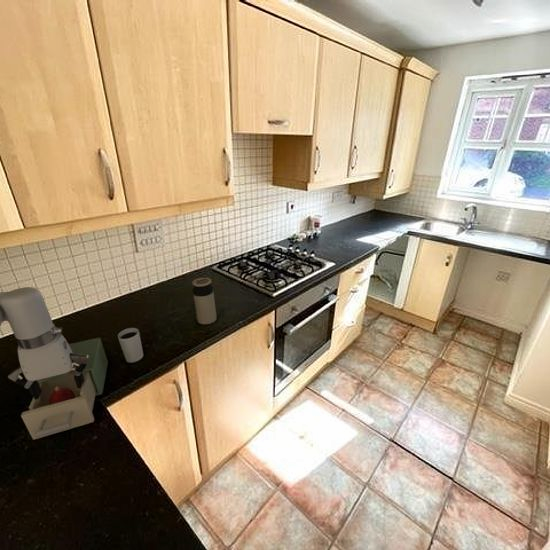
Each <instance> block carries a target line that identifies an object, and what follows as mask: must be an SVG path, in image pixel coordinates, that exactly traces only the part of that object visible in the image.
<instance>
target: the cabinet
mask: <svg viewBox="0 0 550 550" xmlns="http://www.w3.org/2000/svg"><path fill="white" fill-rule="evenodd" d="M68 344H69V346H70V348H71V350H72V352H73V353H74V354H82V355H88V356H89V358H88V361H87V364H86V367H85V369H84V370H83V371H82V372H86V371H91V374H92V376H93V379H94V382H95V385H96V388H97V389H96V394H95V397H98V396H100V395H103V393H104V386H105V381H106V375H107V369H108V364H109V361H108V358H107V355H106V352H105V348H104V346H103V342H102V339H101V337H96V338H90V339H87V340H86V339H85V340H82V341H78V342H72V343H68ZM73 363H76V364H78V365H80V364H81V363H82V362H81V361H76V360H75V362H73ZM70 375H73V374H71V373H69V372H67V373H64V374H60V375H56V376H52V377H48V378H44V379H40V380H36V381H38V384H40V383H42V382H46V381H50V380H54V379H58V378H62V377H66V376H70Z"/></svg>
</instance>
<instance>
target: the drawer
mask: <svg viewBox="0 0 550 550" xmlns="http://www.w3.org/2000/svg"><path fill="white" fill-rule="evenodd" d="M82 374H83V377H84V383H82V386H81V388H77V385H76V382H75V380H74V375H70V376H66V377H62V378H58V379H54V380H50V381H46V382H42V383H40V384H39V386H40V388H41V390H42V392H41V394H40V396H39V398H38V399H36V400H35V399H34V397H33V396H32V400H31V402H30V404H29V406H28V409H29V410H25V411H22V413H21V414H20V417H21V419H22V421H23V423H24V425H25V426H26V429H27V431H28V432H29V435H30V436H31V438H32V440H33V441H34V440H39V439H41V438H44V437H45V438H46V437H48V436H51V435H55V434H57V433H61V432H64V431H68V430H71V429H74V428H78V427H82V426H85V425H88V424H91V423H94V422H95V417H94V414H93V409H94V405H95V399H96V396H95V394H96V389H97V388H96V385H95V382H94V379H93V376H92V374H91V371H86V372H82ZM56 387H59V388H68V389H70V390H72V391H73V392H74V395H75V398H74V399H70V400H66V401H63V402H59V403H55V404H51V405H49V398H50V396H51V394H52V393H53V392H54V391H55V388H56Z"/></svg>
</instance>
